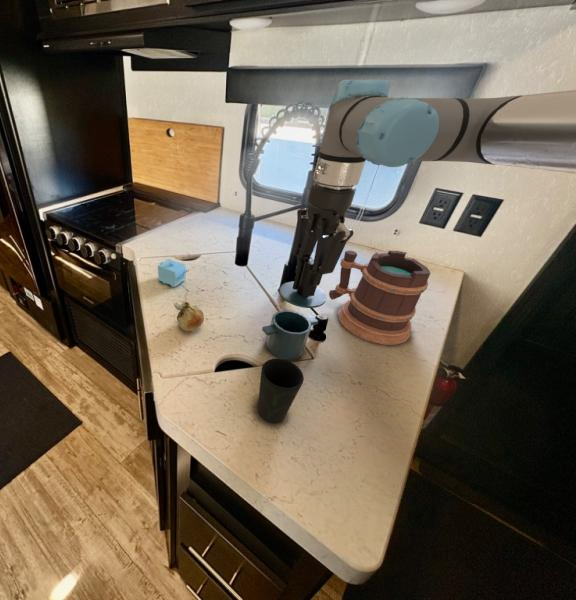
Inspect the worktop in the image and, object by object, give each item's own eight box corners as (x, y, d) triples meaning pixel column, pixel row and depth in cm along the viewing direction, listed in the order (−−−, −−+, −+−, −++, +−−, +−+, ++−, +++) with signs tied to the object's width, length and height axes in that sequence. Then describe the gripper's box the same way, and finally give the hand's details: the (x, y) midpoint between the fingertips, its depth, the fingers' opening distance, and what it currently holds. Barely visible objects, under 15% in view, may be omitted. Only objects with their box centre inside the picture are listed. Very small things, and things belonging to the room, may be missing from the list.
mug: (335, 292, 102) (355, 235, 91) (415, 320, 90) (451, 259, 79) (313, 318, 91) (333, 257, 79) (402, 355, 79) (441, 289, 67)
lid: (335, 305, 68) (348, 269, 63) (296, 314, 65) (306, 277, 60) (306, 282, 76) (316, 248, 70) (270, 289, 73) (277, 254, 68)
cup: (275, 392, 69) (286, 354, 62) (297, 420, 64) (312, 382, 57) (245, 402, 67) (253, 364, 60) (266, 433, 61) (277, 394, 54)
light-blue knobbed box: (193, 284, 106) (194, 264, 102) (183, 292, 102) (183, 272, 98) (165, 273, 112) (165, 255, 108) (155, 280, 108) (154, 261, 104)
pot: (319, 352, 79) (328, 327, 75) (269, 365, 76) (276, 339, 71) (297, 330, 87) (304, 305, 82) (251, 341, 83) (255, 316, 78)
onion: (180, 338, 84) (181, 315, 79) (173, 320, 90) (173, 298, 85) (207, 334, 85) (209, 310, 81) (197, 316, 92) (199, 294, 87)
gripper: (290, 175, 61) (269, 277, 75) (349, 198, 49) (311, 315, 63) (322, 172, 63) (296, 272, 77) (386, 194, 51) (341, 308, 64)
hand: (302, 291), depth 70 cm, fingers closed on lid, 3 cm apart
